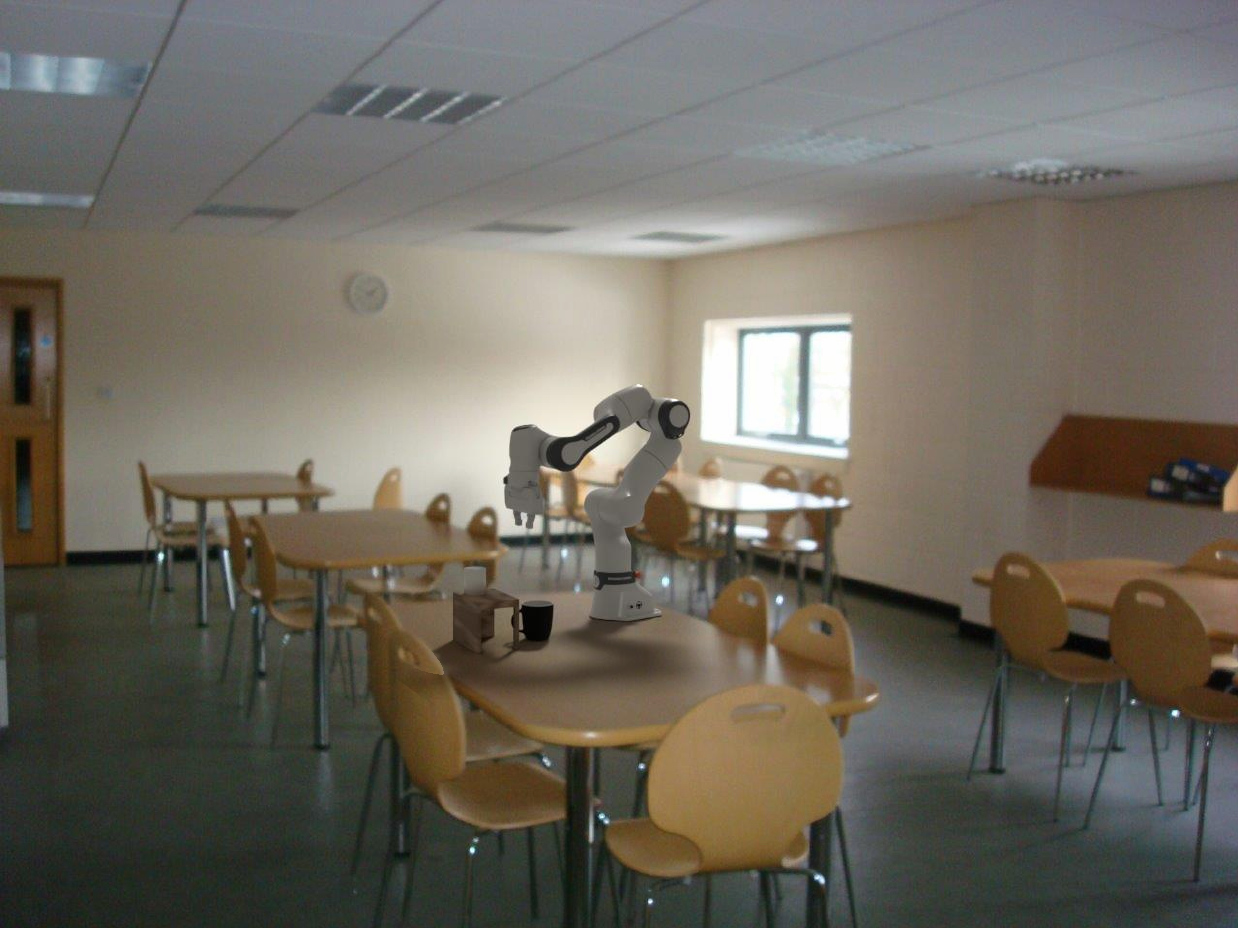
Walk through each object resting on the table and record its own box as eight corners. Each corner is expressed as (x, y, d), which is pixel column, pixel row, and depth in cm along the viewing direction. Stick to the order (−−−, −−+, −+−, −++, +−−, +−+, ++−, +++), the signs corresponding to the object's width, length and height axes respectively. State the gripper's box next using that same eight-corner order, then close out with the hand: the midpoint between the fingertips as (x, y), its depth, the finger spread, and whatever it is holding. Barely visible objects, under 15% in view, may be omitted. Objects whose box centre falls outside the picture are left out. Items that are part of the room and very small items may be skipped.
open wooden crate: (493, 635, 329) (493, 588, 328) (519, 648, 313) (519, 599, 312) (453, 639, 323) (453, 591, 322) (477, 653, 308) (477, 602, 307)
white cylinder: (480, 590, 324) (481, 565, 324) (489, 594, 319) (489, 569, 318) (460, 592, 321) (460, 567, 321) (468, 596, 316) (468, 570, 315)
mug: (549, 634, 331) (549, 599, 330) (556, 641, 322) (556, 605, 322) (507, 636, 328) (508, 601, 327) (513, 643, 319) (514, 607, 318)
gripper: (549, 482, 333) (548, 530, 334) (519, 477, 351) (519, 522, 352) (529, 483, 330) (528, 531, 331) (500, 477, 348) (500, 523, 349)
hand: (523, 527), depth 341 cm, fingers open, 6 cm apart
